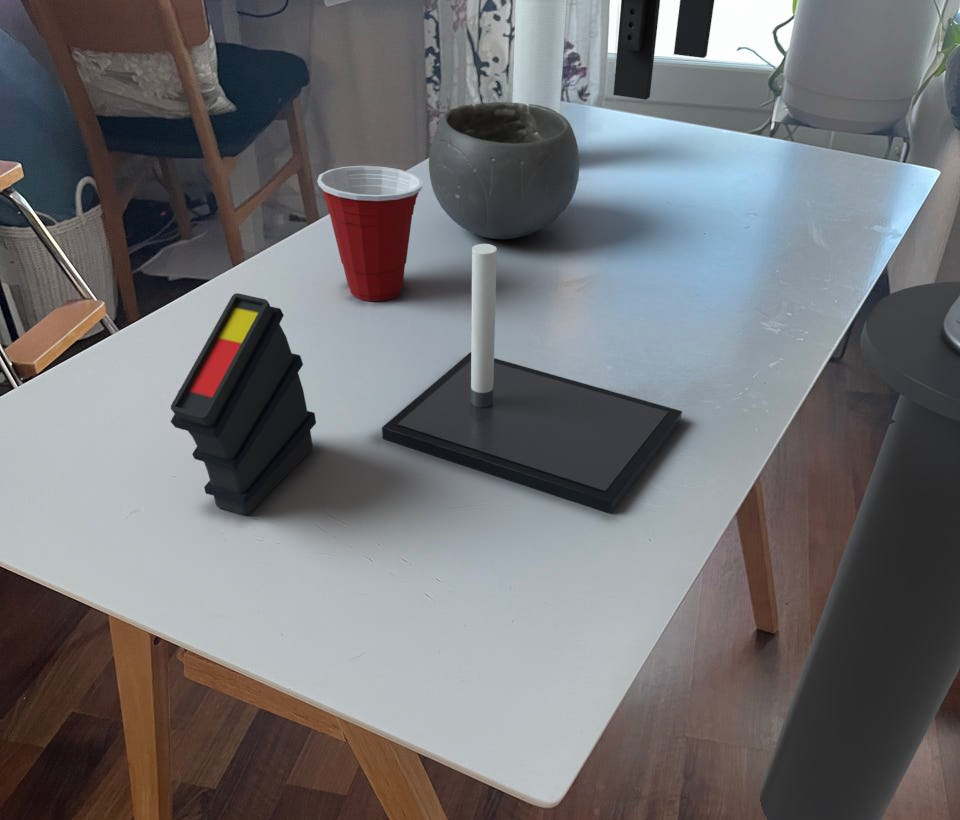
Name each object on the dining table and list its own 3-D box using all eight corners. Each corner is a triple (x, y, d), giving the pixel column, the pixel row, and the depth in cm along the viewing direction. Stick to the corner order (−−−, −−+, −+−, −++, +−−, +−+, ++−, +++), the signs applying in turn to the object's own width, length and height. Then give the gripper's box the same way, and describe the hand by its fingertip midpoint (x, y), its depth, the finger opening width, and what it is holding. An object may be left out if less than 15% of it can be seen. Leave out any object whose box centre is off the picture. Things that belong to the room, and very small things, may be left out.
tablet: (680, 422, 88) (682, 409, 87) (610, 513, 78) (612, 500, 77) (470, 362, 96) (470, 350, 95) (382, 438, 86) (381, 426, 85)
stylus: (496, 400, 88) (501, 246, 78) (486, 410, 87) (489, 255, 77) (477, 394, 89) (479, 241, 79) (466, 404, 87) (467, 250, 78)
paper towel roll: (508, 153, 140) (514, -24, 125) (550, 152, 140) (560, -23, 125) (513, 170, 135) (519, -12, 120) (556, 170, 135) (567, -12, 120)
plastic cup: (445, 284, 108) (443, 171, 100) (388, 320, 102) (381, 203, 93) (367, 261, 112) (360, 151, 104) (308, 295, 106) (294, 180, 97)
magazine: (334, 415, 85) (275, 297, 71) (271, 543, 81) (195, 444, 67) (297, 406, 86) (232, 288, 72) (233, 532, 82) (151, 432, 68)
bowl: (517, 193, 129) (521, 87, 120) (604, 238, 118) (615, 126, 109) (403, 221, 121) (398, 110, 112) (484, 272, 111) (486, 154, 102)
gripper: (709, -288, 73) (671, 35, 88) (575, -285, 57) (556, 109, 72) (808, -288, 70) (751, 45, 85) (696, -285, 55) (651, 123, 69)
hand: (662, 75), depth 79 cm, fingers open, 13 cm apart
